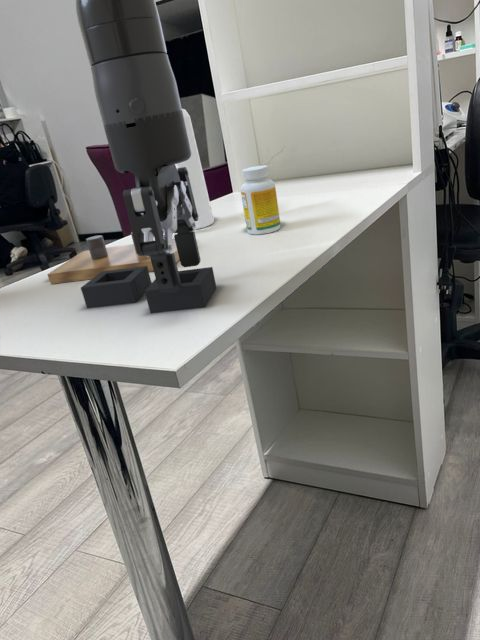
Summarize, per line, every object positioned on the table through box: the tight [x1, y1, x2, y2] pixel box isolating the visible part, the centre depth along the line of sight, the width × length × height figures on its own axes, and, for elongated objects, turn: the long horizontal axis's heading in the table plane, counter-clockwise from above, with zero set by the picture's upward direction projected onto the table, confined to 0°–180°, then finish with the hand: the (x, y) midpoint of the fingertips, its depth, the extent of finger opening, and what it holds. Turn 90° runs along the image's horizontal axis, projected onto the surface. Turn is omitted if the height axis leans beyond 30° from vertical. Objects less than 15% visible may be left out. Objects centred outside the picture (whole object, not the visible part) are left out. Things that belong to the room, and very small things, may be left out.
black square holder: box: [144, 266, 218, 314], centre depth 58 cm, size 6×6×3 cm
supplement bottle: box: [240, 165, 281, 236], centre depth 84 cm, size 5×5×10 cm
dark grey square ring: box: [80, 266, 153, 309], centre depth 63 cm, size 6×6×3 cm
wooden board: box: [47, 231, 180, 285], centre depth 79 cm, size 18×12×4 cm, turn 83°
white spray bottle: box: [175, 108, 215, 230], centre depth 92 cm, size 7×12×25 cm, turn 178°
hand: (181, 277), depth 58 cm, fingers open, 8 cm apart
